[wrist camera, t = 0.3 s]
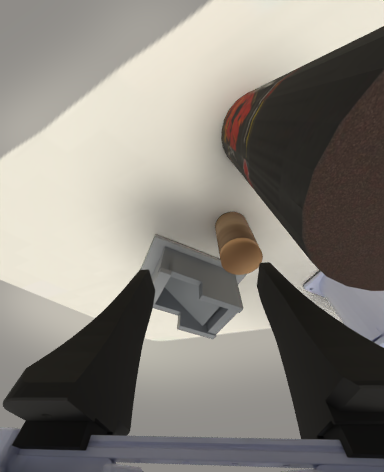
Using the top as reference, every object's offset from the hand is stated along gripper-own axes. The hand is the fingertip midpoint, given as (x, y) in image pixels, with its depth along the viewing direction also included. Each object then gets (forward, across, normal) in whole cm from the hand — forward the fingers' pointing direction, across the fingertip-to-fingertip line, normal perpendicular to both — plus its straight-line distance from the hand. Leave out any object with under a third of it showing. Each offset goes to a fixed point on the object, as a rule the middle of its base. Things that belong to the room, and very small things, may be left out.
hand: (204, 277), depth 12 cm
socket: (+10, +2, +9) cm, 14 cm away
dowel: (+10, -3, +2) cm, 10 cm away
